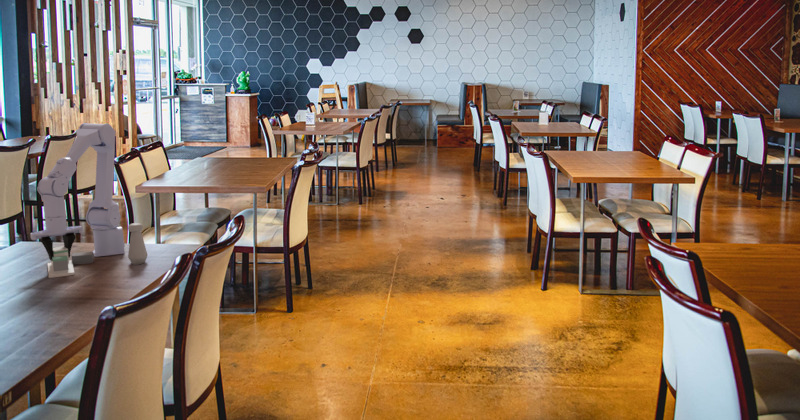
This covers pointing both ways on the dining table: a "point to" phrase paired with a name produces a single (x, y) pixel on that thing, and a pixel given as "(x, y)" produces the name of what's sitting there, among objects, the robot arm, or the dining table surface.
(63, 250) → the block
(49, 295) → the dining table surface
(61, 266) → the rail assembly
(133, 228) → the salt shaker
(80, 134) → the robot arm
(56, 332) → the dining table surface
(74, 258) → the relay
